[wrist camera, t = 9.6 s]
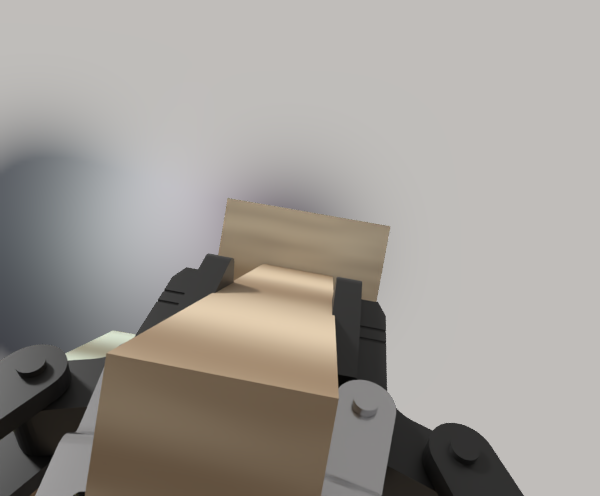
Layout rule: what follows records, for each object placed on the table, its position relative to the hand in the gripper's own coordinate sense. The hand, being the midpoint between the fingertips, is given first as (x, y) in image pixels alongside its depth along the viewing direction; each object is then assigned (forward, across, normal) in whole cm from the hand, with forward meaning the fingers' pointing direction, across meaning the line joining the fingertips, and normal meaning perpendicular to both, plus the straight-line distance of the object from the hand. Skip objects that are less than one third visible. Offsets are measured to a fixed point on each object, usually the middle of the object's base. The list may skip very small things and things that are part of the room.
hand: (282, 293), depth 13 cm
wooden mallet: (+1, 0, -7) cm, 7 cm away
